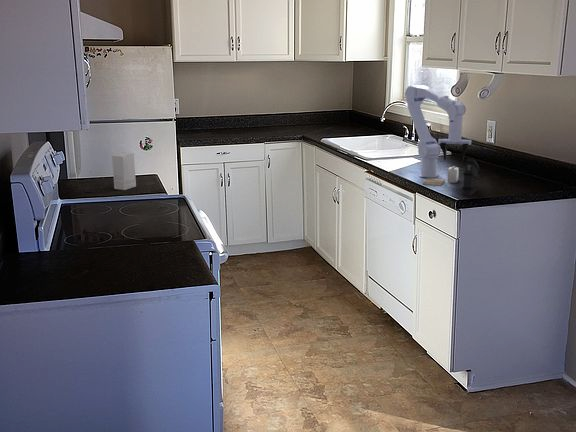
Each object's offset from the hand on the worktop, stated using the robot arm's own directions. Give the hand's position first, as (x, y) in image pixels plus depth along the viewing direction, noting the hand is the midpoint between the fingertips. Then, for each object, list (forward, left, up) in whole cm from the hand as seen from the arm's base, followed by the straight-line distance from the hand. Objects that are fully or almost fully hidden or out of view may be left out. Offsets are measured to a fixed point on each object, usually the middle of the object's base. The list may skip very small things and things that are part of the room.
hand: (453, 159), depth 302 cm
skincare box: (+60, -137, -10) cm, 150 cm away
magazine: (+23, +11, -10) cm, 27 cm away
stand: (+8, -7, -10) cm, 15 cm away
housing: (0, 0, -10) cm, 10 cm away
